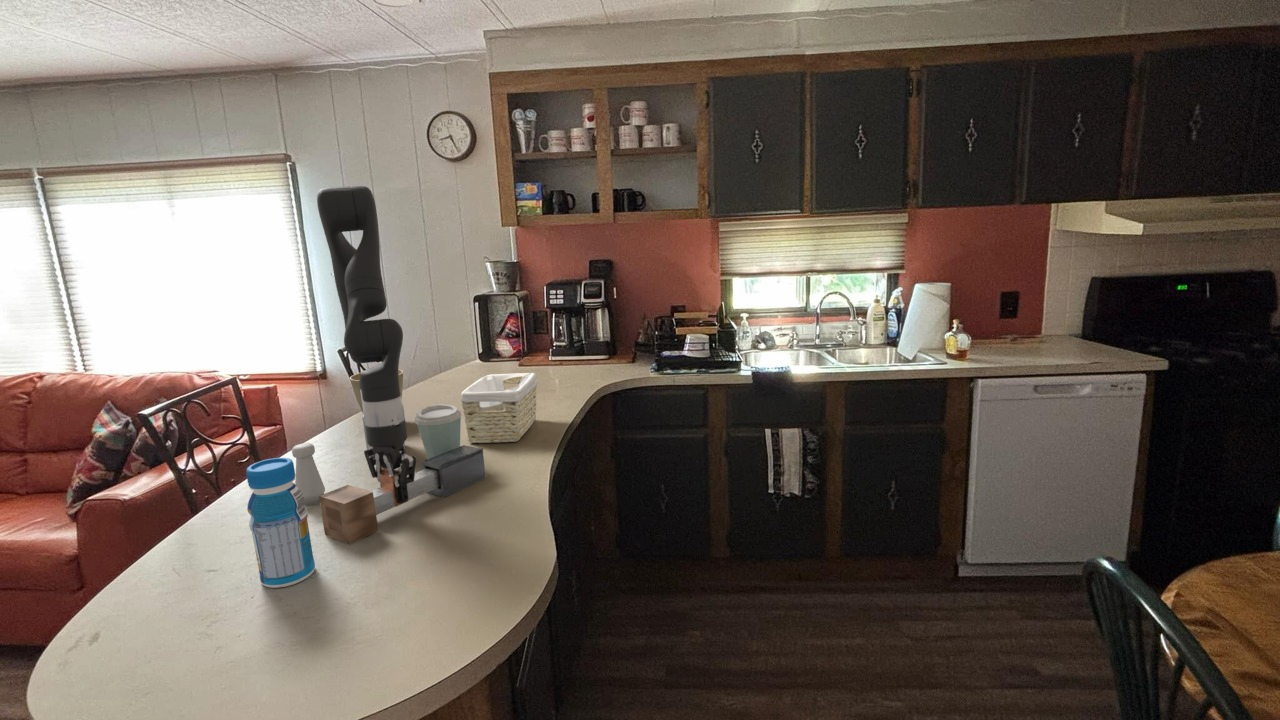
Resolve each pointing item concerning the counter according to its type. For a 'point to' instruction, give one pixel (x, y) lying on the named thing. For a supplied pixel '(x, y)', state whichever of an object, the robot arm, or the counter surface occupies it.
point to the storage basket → (499, 407)
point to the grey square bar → (419, 486)
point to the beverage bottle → (279, 523)
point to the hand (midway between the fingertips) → (395, 499)
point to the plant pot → (356, 386)
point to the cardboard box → (348, 513)
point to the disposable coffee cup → (439, 428)
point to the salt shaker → (307, 474)
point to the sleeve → (457, 469)
